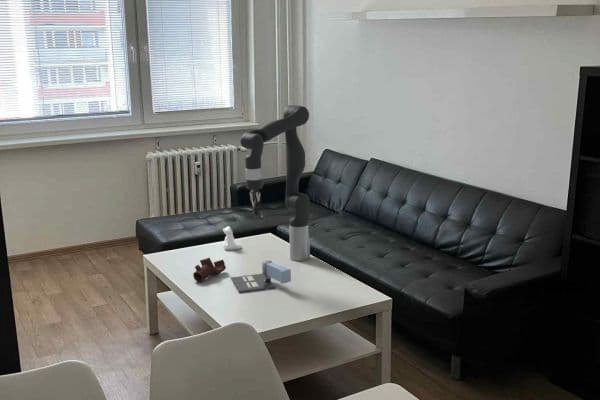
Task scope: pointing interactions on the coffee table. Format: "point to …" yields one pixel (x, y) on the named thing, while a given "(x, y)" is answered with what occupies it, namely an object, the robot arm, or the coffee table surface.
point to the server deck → (252, 283)
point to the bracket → (208, 269)
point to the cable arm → (276, 271)
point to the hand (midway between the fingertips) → (256, 214)
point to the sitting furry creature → (230, 240)
